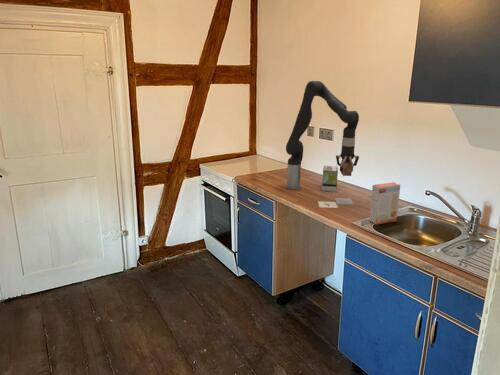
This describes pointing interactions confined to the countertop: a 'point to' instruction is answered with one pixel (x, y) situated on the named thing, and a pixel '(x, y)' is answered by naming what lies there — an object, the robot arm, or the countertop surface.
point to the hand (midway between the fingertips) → (346, 172)
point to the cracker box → (384, 203)
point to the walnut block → (347, 168)
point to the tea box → (329, 178)
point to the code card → (328, 204)
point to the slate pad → (343, 201)
